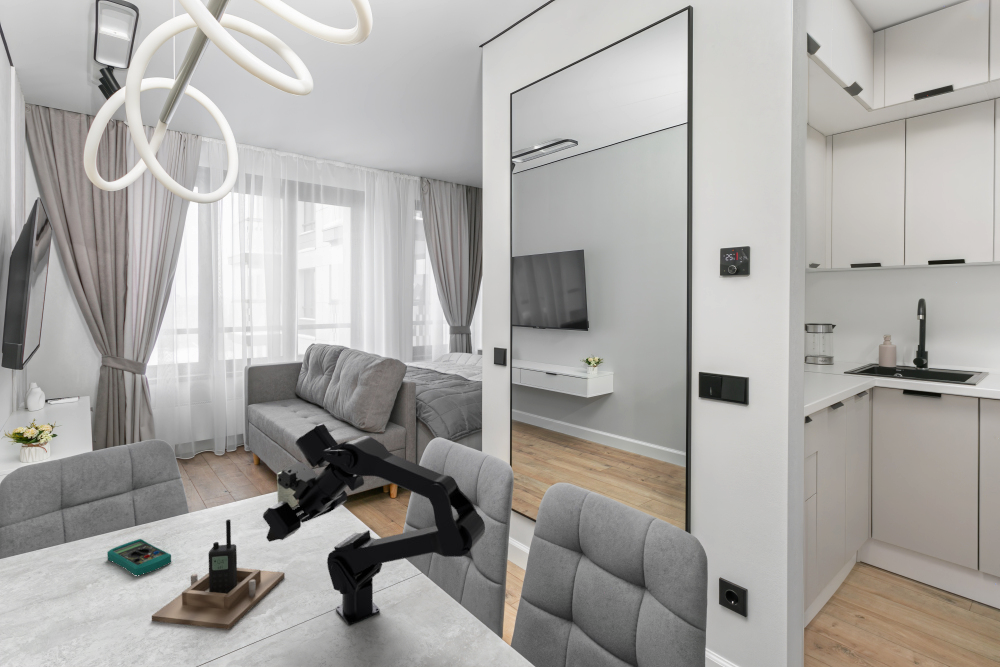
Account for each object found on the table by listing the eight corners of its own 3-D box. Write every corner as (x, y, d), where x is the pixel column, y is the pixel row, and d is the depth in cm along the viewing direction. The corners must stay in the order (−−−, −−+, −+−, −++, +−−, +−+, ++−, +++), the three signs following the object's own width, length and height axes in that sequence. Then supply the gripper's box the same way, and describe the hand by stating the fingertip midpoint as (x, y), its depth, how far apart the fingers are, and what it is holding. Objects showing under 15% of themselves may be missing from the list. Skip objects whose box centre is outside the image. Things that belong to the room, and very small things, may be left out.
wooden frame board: (284, 577, 109) (284, 559, 109) (228, 629, 92) (228, 608, 91) (218, 570, 112) (218, 553, 111) (151, 620, 94) (151, 600, 94)
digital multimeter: (137, 579, 108) (136, 566, 108) (106, 561, 116) (105, 548, 116) (173, 565, 115) (173, 552, 115) (141, 548, 122) (141, 536, 122)
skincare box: (301, 502, 150) (301, 469, 150) (292, 508, 146) (292, 474, 146) (285, 500, 151) (285, 468, 151) (276, 506, 147) (276, 473, 147)
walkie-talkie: (208, 597, 100) (206, 524, 99) (214, 588, 103) (213, 517, 102) (234, 595, 100) (232, 522, 100) (239, 585, 104) (238, 515, 103)
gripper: (335, 440, 109) (295, 483, 113) (270, 466, 91) (225, 516, 95) (366, 480, 106) (324, 523, 111) (305, 515, 89) (258, 563, 93)
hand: (285, 529), depth 102 cm, fingers open, 9 cm apart
